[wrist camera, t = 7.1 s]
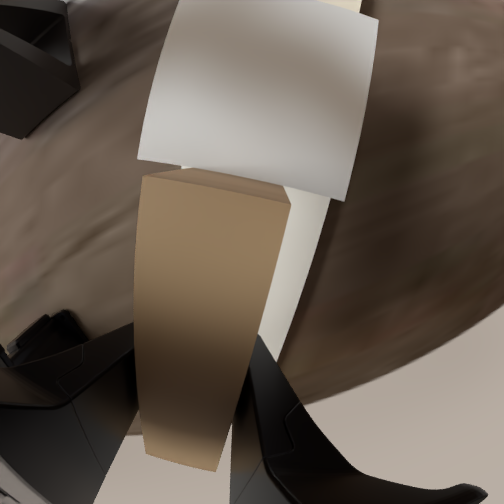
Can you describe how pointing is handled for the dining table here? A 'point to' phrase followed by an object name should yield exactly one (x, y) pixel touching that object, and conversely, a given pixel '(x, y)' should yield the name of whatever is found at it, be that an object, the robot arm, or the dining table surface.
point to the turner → (232, 194)
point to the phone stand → (33, 63)
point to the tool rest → (292, 265)
